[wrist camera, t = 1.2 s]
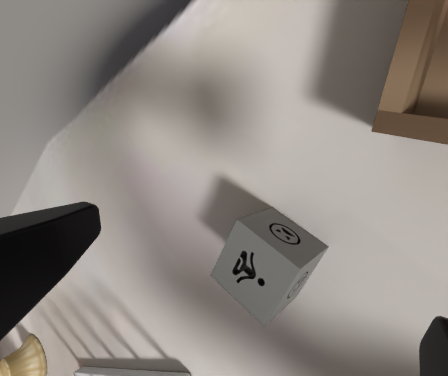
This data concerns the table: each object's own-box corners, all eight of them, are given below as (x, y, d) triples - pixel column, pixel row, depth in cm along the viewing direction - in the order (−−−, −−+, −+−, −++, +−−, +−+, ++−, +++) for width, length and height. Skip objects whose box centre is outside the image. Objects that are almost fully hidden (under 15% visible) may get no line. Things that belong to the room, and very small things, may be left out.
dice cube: (273, 207, 24) (236, 219, 20) (329, 246, 22) (300, 268, 18) (247, 255, 26) (210, 275, 22) (296, 296, 23) (264, 326, 20)
